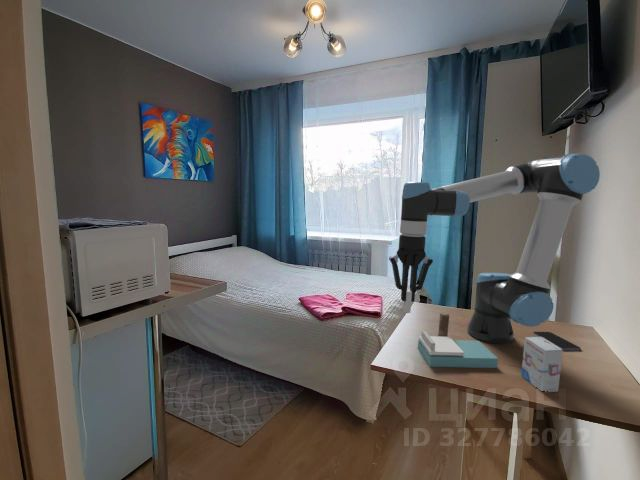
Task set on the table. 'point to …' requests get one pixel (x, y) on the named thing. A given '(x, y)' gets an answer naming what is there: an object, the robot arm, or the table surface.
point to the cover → (440, 345)
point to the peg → (443, 325)
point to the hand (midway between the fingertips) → (406, 311)
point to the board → (473, 356)
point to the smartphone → (558, 341)
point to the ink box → (542, 363)
